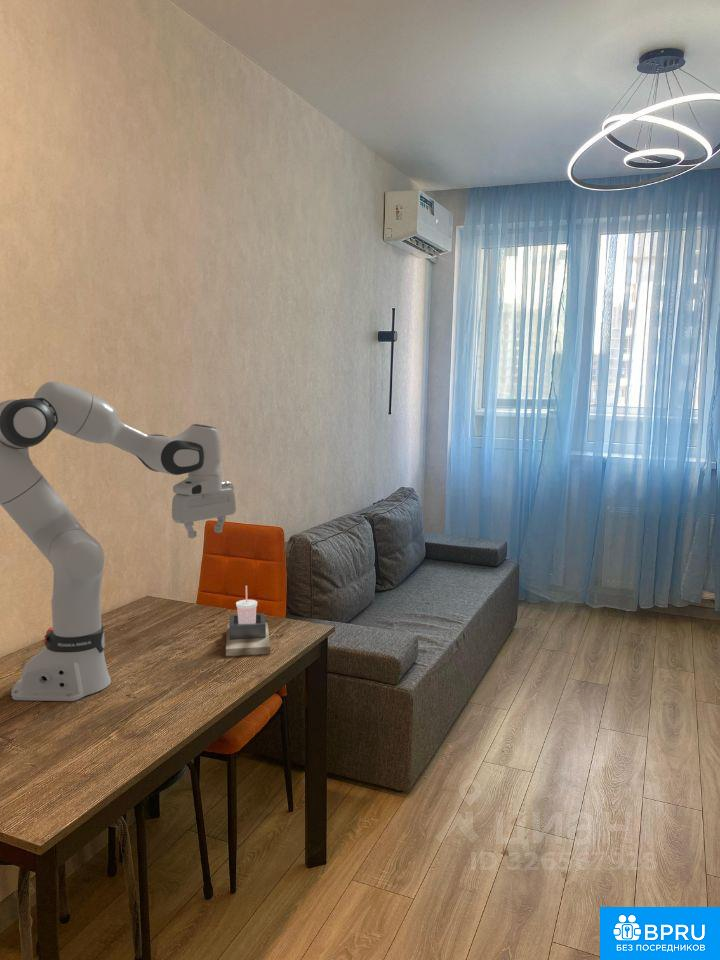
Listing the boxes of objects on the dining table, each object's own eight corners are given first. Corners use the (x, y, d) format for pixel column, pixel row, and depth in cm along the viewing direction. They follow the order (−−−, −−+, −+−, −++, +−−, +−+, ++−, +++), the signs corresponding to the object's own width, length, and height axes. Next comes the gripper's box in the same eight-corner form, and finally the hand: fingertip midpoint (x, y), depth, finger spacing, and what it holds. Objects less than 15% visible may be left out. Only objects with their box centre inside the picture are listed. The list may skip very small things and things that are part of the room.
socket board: (226, 656, 203) (225, 649, 203) (227, 631, 223) (226, 624, 223) (270, 653, 205) (270, 646, 205) (267, 629, 225) (267, 622, 224)
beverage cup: (244, 628, 220) (243, 581, 218) (262, 631, 217) (261, 584, 215) (232, 634, 214) (231, 587, 212) (250, 637, 212) (249, 589, 210)
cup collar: (229, 639, 210) (229, 626, 209) (230, 627, 220) (229, 614, 219) (265, 637, 212) (265, 624, 211) (264, 626, 221) (264, 613, 221)
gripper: (225, 479, 212) (225, 527, 214) (167, 487, 196) (168, 539, 198) (241, 481, 208) (241, 530, 210) (184, 489, 192) (184, 542, 194)
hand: (205, 534), depth 204 cm, fingers open, 8 cm apart
